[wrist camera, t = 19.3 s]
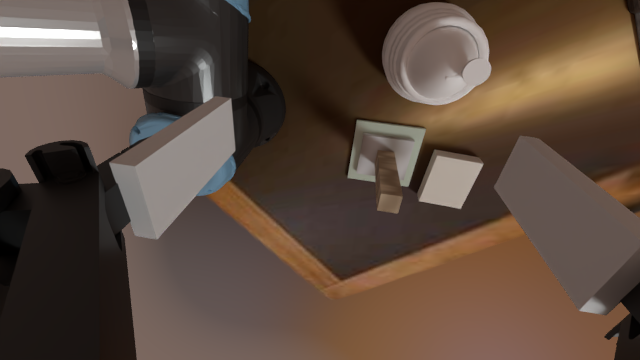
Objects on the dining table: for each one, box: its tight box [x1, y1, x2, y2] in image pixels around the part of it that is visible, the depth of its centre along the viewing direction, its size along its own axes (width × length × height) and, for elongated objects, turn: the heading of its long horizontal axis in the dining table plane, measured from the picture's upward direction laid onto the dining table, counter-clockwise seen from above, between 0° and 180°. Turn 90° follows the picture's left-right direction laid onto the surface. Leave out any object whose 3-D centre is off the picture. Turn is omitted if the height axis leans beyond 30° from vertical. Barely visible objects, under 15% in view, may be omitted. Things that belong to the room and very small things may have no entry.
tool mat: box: [348, 119, 426, 187], centre depth 53 cm, size 12×12×1 cm
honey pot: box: [382, 2, 491, 105], centre depth 36 cm, size 13×13×18 cm
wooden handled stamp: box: [357, 133, 415, 213], centre depth 47 cm, size 9×8×15 cm
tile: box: [417, 149, 483, 209], centre depth 53 cm, size 3×10×8 cm
